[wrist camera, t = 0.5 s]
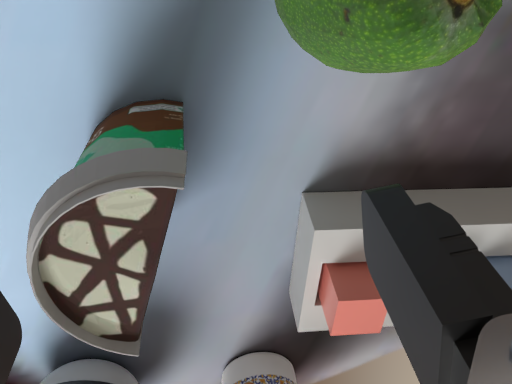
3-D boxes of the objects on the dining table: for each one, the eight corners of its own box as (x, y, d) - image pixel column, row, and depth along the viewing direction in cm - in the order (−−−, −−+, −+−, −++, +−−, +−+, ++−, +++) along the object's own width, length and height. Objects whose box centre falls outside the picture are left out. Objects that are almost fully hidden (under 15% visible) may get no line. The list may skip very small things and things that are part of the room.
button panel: (302, 192, 32) (314, 230, 28) (516, 187, 34) (550, 222, 30) (288, 291, 38) (297, 332, 34) (471, 282, 39) (496, 319, 36)
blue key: (457, 246, 33) (489, 293, 29) (502, 244, 33) (538, 290, 30) (444, 279, 35) (472, 326, 31) (485, 277, 35) (518, 323, 32)
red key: (322, 251, 32) (338, 301, 28) (369, 250, 32) (391, 298, 29) (316, 285, 34) (330, 335, 30) (360, 283, 34) (380, 332, 31)
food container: (74, 50, 24) (17, 145, 16) (188, 78, 26) (187, 177, 18) (59, 224, 31) (12, 352, 23) (150, 238, 33) (137, 363, 25)
